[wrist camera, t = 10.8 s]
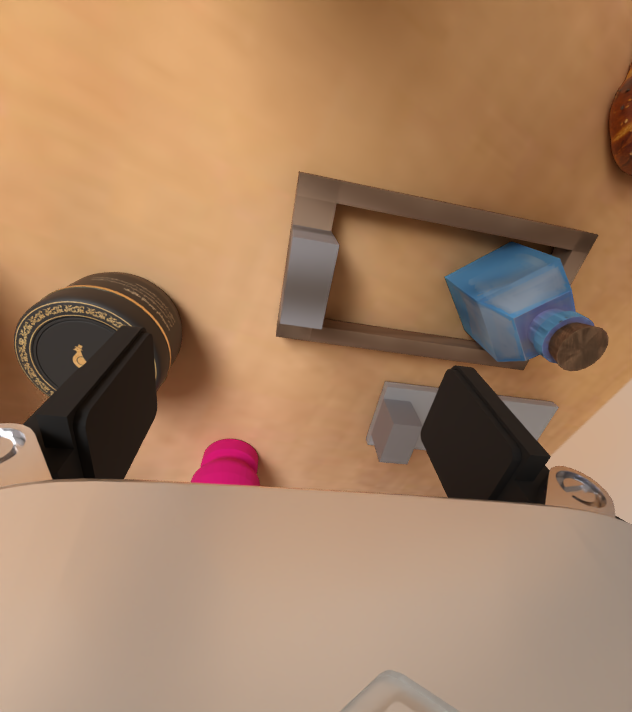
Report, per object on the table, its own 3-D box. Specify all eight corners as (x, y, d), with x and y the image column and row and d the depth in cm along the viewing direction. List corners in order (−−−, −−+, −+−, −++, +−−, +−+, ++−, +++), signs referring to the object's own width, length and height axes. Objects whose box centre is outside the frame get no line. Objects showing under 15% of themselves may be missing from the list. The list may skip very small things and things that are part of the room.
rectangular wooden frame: (299, 171, 26) (302, 174, 20) (580, 230, 30) (655, 248, 24) (276, 327, 32) (273, 365, 26) (512, 360, 36) (557, 400, 30)
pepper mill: (225, 424, 38) (170, 649, 20) (275, 455, 40) (265, 677, 23) (186, 460, 40) (107, 692, 22) (236, 488, 43) (201, 712, 25)
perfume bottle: (526, 299, 33) (637, 363, 22) (464, 330, 34) (542, 404, 24) (511, 241, 30) (630, 283, 20) (444, 276, 31) (523, 334, 21)
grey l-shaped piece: (385, 381, 36) (398, 411, 32) (552, 401, 39) (585, 431, 35) (366, 438, 40) (375, 472, 36) (520, 453, 43) (546, 486, 38)
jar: (139, 385, 34) (103, 438, 28) (45, 312, 30) (-23, 354, 24) (211, 328, 32) (191, 371, 25) (120, 240, 28) (67, 264, 21)
